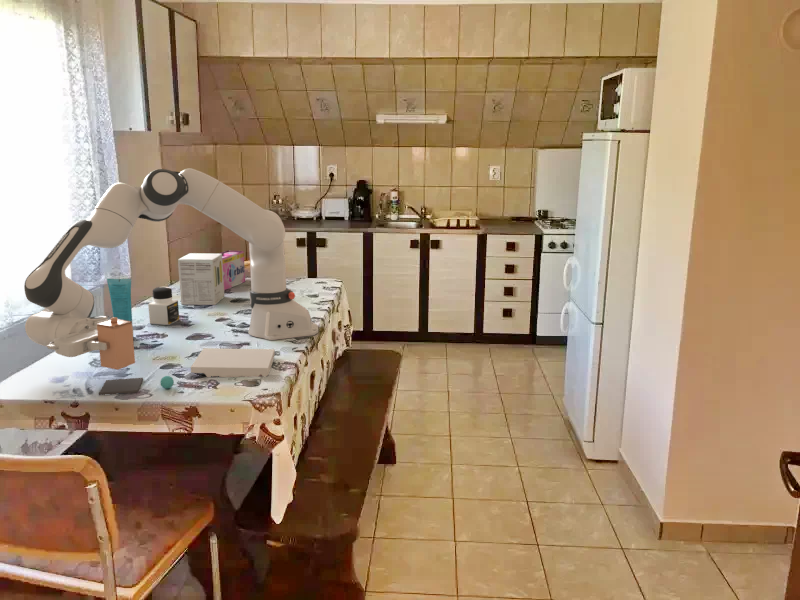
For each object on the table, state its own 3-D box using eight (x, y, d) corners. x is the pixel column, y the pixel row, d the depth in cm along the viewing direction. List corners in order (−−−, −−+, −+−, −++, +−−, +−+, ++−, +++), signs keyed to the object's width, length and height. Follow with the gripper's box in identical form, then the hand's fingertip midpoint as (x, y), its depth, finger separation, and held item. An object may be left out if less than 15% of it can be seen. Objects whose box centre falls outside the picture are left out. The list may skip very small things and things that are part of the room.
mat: (143, 379, 173) (143, 377, 173) (137, 392, 164) (137, 390, 164) (106, 382, 171) (106, 380, 171) (98, 395, 162) (98, 393, 162)
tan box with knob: (118, 359, 170) (114, 313, 167) (135, 362, 167) (131, 316, 165) (101, 366, 165) (96, 319, 162) (117, 369, 162) (113, 322, 160)
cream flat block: (274, 360, 191) (204, 359, 189) (274, 349, 190) (203, 348, 188) (267, 379, 176) (191, 378, 175) (267, 368, 175) (190, 367, 174)
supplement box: (215, 305, 248) (212, 259, 244) (180, 304, 248) (177, 259, 244) (225, 296, 261) (222, 253, 256) (192, 296, 261) (189, 252, 257)
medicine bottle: (168, 325, 221) (165, 290, 219) (149, 324, 223) (146, 289, 220) (179, 319, 228) (177, 286, 225) (161, 318, 230) (158, 284, 227)
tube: (139, 335, 210) (133, 276, 205) (134, 340, 205) (129, 280, 201) (114, 336, 209) (108, 277, 204) (109, 341, 204) (103, 280, 200)
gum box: (216, 293, 266) (214, 260, 262) (199, 292, 268) (197, 259, 264) (245, 281, 288) (244, 250, 285) (229, 280, 290) (228, 249, 287)
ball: (174, 385, 169) (173, 373, 168) (173, 390, 166) (172, 378, 165) (161, 386, 168) (160, 374, 168) (160, 390, 165) (159, 378, 165)
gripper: (41, 334, 160) (82, 341, 154) (108, 314, 178) (147, 320, 172) (44, 358, 161) (85, 367, 156) (110, 336, 179) (149, 343, 174)
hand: (118, 342), depth 164 cm, fingers closed on tan box with knob, 6 cm apart
